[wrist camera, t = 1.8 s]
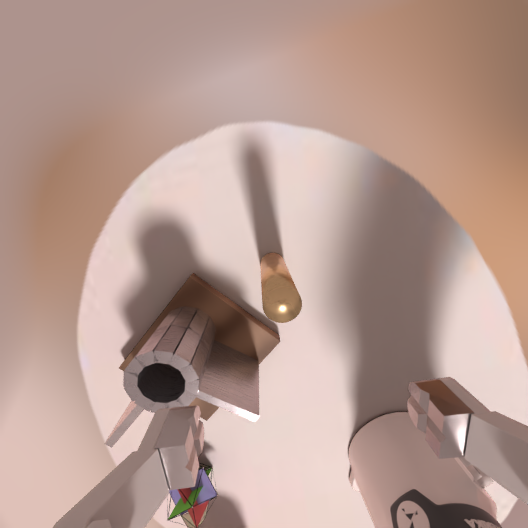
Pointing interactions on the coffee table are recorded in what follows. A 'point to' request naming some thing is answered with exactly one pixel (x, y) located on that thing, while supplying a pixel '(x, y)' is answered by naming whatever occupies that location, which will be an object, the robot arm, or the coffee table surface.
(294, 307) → the pin
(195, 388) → the grey socket block
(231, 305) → the base board
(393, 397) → the coffee table surface
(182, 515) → the geometric puzzle
